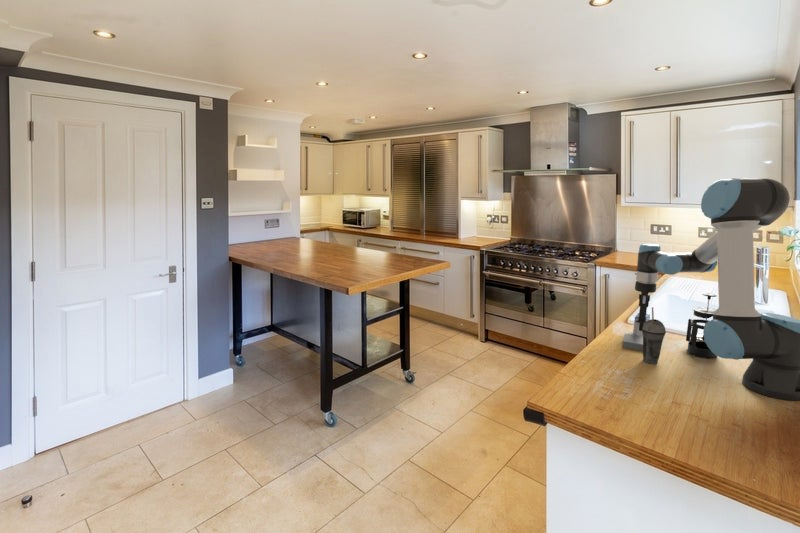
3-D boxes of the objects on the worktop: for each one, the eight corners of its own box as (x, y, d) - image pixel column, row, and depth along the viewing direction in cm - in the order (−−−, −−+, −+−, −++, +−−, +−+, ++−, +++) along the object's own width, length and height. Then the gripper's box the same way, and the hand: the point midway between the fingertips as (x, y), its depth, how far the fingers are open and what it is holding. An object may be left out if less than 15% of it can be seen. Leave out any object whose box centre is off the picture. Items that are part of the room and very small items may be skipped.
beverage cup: (665, 366, 149) (672, 311, 145) (642, 364, 151) (648, 310, 147) (657, 358, 156) (663, 305, 152) (635, 356, 158) (641, 304, 154)
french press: (725, 358, 156) (734, 296, 152) (704, 360, 154) (713, 298, 150) (696, 346, 167) (704, 289, 163) (676, 348, 165) (683, 290, 161)
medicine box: (636, 331, 184) (638, 312, 183) (648, 333, 182) (650, 314, 180) (632, 336, 178) (634, 316, 177) (644, 338, 176) (646, 318, 174)
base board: (655, 354, 161) (656, 346, 161) (622, 348, 167) (623, 341, 166) (655, 345, 170) (656, 338, 169) (624, 340, 175) (624, 333, 175)
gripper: (636, 275, 186) (631, 325, 191) (634, 285, 169) (628, 340, 173) (656, 277, 183) (651, 328, 187) (656, 288, 165) (650, 344, 169)
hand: (640, 334), depth 180 cm, fingers closed on medicine box, 8 cm apart
